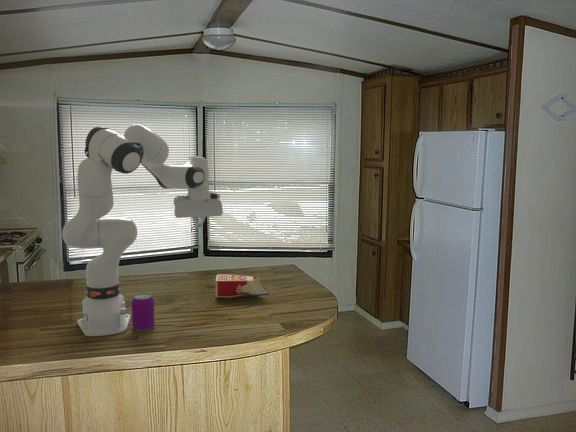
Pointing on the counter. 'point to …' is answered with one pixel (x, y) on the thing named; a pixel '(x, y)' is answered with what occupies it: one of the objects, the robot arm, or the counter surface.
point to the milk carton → (236, 285)
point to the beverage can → (143, 312)
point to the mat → (252, 294)
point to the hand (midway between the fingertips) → (198, 227)
